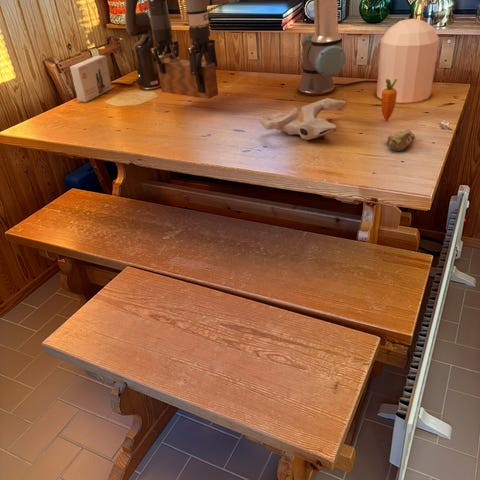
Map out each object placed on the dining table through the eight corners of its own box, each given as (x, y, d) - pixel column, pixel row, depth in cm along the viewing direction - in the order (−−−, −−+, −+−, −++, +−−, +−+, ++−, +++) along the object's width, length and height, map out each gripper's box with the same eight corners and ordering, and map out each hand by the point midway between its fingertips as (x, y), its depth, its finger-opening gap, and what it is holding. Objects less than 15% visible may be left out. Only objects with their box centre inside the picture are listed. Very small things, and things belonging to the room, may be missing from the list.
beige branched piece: (257, 147, 155) (255, 112, 149) (269, 121, 176) (267, 89, 170) (343, 147, 149) (345, 111, 143) (345, 120, 170) (346, 87, 164)
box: (161, 92, 191) (156, 61, 184) (171, 87, 195) (166, 58, 188) (209, 99, 178) (205, 66, 171) (218, 94, 182) (214, 62, 175)
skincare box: (87, 102, 214) (77, 67, 204) (78, 102, 215) (68, 66, 206) (113, 88, 229) (105, 54, 220) (104, 88, 231) (96, 54, 222)
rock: (408, 140, 153) (379, 139, 152) (414, 122, 149) (384, 120, 148) (421, 154, 144) (391, 153, 143) (428, 135, 140) (396, 133, 139)
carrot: (394, 118, 167) (398, 76, 158) (393, 123, 163) (397, 80, 154) (379, 117, 168) (383, 75, 160) (378, 122, 165) (382, 80, 156)
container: (400, 106, 176) (410, 27, 160) (365, 93, 192) (370, 19, 176) (442, 95, 182) (455, 17, 167) (404, 83, 199) (413, 11, 183)
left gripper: (167, 22, 184) (174, 66, 194) (141, 30, 175) (149, 75, 184) (180, 23, 180) (187, 67, 190) (155, 31, 171) (163, 77, 181)
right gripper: (189, 31, 159) (198, 98, 172) (222, 20, 171) (229, 83, 184) (173, 30, 163) (183, 96, 176) (207, 20, 175) (214, 81, 188)
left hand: (168, 71), depth 187 cm, fingers closed on box, 6 cm apart
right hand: (206, 89), depth 180 cm, fingers closed on box, 6 cm apart
